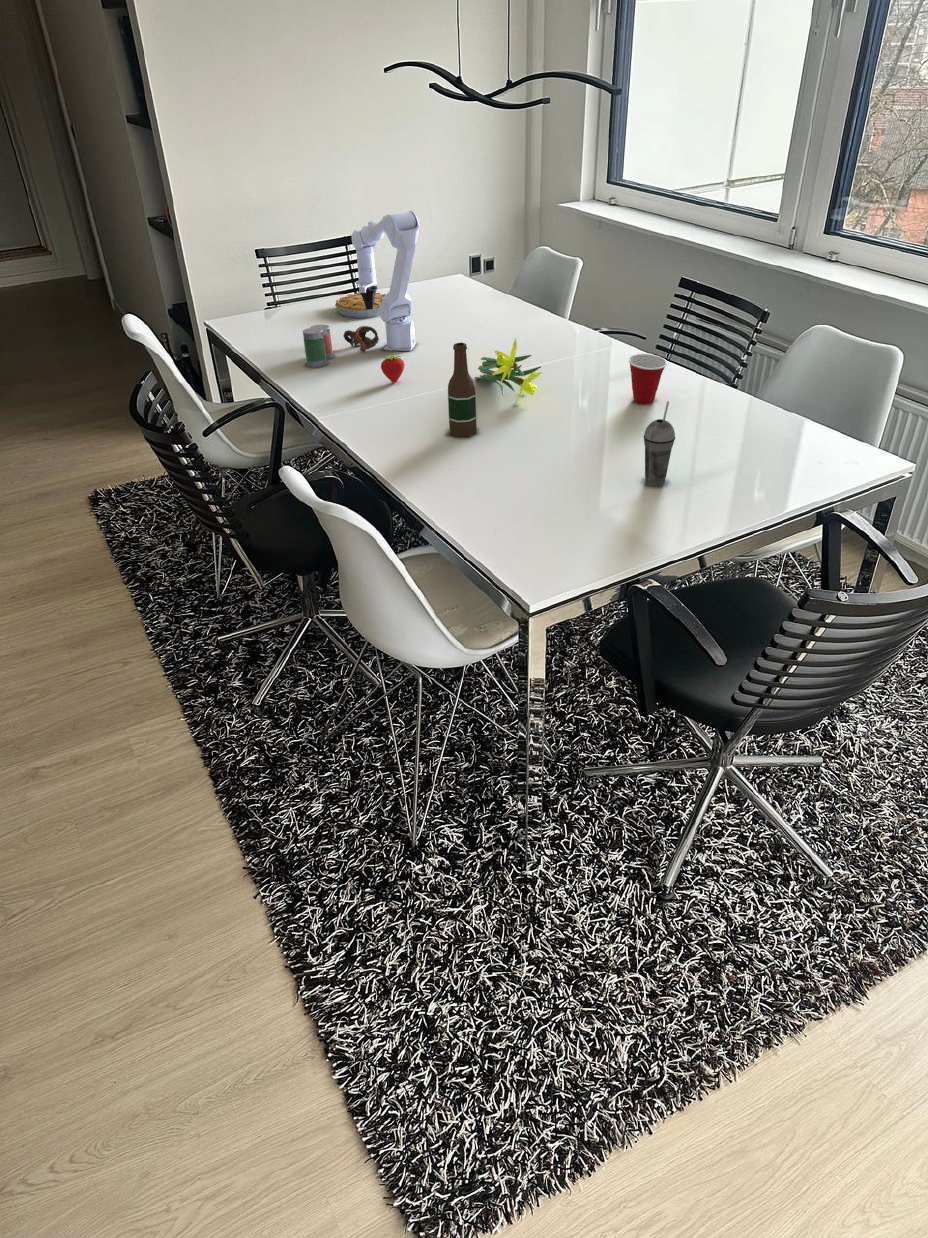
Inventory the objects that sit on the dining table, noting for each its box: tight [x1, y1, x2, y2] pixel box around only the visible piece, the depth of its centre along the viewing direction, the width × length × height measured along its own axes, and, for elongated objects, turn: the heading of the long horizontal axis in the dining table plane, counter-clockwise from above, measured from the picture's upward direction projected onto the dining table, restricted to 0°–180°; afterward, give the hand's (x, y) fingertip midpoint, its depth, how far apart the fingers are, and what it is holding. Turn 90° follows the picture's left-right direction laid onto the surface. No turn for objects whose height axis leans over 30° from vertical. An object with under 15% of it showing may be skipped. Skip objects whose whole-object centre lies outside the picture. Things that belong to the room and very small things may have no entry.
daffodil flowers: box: [474, 337, 543, 406], centre depth 259 cm, size 17×15×35 cm
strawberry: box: [380, 350, 405, 384], centre depth 271 cm, size 6×8×10 cm
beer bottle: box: [447, 342, 477, 439], centre depth 234 cm, size 8×8×24 cm
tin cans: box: [302, 324, 334, 369], centre depth 290 cm, size 6×13×11 cm, turn 170°
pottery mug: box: [342, 325, 380, 353], centre depth 301 cm, size 12×10×8 cm
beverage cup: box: [642, 400, 676, 487], centre depth 207 cm, size 7×7×20 cm
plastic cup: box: [628, 353, 668, 405], centre depth 252 cm, size 11×11×12 cm
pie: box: [334, 292, 387, 319], centre depth 339 cm, size 22×22×5 cm
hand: (369, 308), depth 309 cm, fingers closed
